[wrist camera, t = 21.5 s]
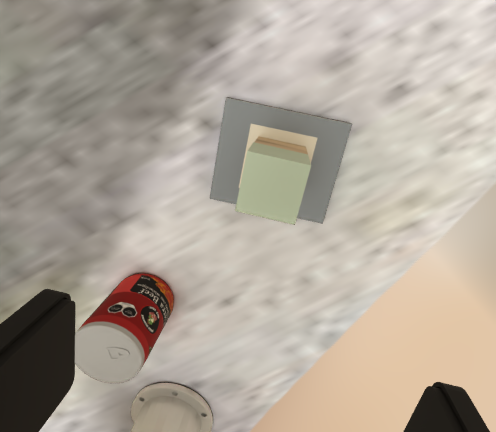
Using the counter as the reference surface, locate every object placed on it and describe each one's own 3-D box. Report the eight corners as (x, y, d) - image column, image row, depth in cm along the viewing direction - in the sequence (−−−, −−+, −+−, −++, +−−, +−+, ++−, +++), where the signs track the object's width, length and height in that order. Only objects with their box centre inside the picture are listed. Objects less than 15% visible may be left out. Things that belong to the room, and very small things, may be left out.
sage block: (293, 205, 32) (294, 224, 27) (242, 193, 32) (235, 210, 28) (307, 154, 30) (311, 165, 26) (253, 142, 31) (247, 150, 26)
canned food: (185, 309, 45) (155, 373, 35) (137, 327, 47) (95, 392, 37) (156, 262, 43) (115, 315, 33) (107, 283, 45) (54, 338, 35)
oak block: (294, 191, 37) (294, 206, 32) (249, 181, 37) (243, 194, 32) (305, 146, 35) (308, 154, 30) (258, 136, 35) (253, 142, 31)
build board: (321, 219, 39) (322, 223, 38) (211, 195, 39) (209, 198, 38) (350, 123, 35) (352, 124, 34) (228, 97, 35) (225, 97, 34)
